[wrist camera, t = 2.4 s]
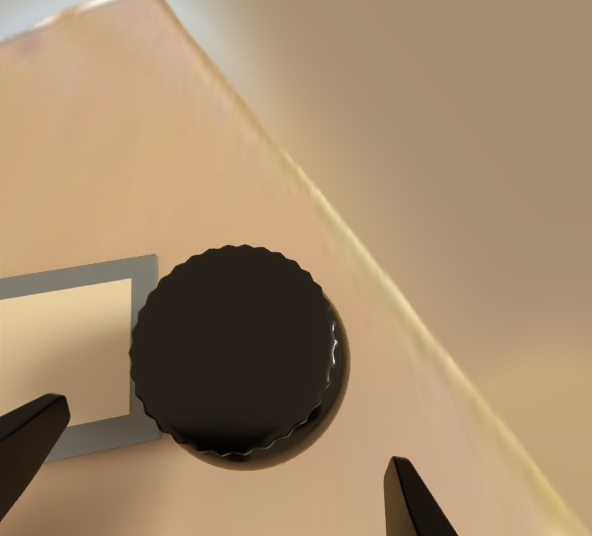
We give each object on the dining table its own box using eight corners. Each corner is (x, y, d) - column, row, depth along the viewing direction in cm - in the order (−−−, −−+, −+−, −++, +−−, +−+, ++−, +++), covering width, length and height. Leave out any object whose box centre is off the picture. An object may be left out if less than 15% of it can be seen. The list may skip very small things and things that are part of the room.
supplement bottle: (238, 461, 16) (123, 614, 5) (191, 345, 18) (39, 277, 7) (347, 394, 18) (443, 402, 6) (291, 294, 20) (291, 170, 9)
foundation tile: (161, 438, 17) (157, 439, 16) (-57, 483, 16) (-67, 486, 15) (157, 256, 21) (154, 253, 20) (-17, 284, 20) (-24, 281, 19)
